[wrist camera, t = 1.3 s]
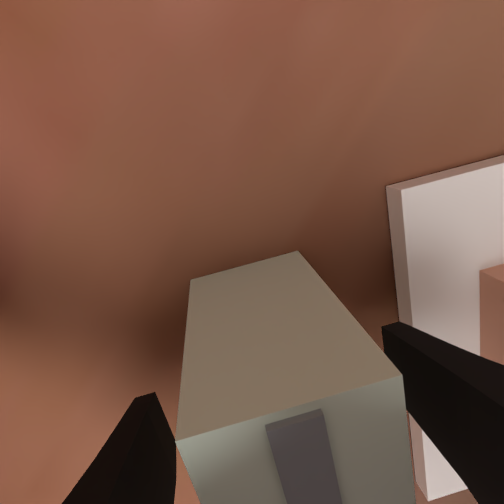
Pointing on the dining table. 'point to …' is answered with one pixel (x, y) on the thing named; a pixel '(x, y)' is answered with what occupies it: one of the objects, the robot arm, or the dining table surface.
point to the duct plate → (450, 277)
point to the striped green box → (287, 394)
